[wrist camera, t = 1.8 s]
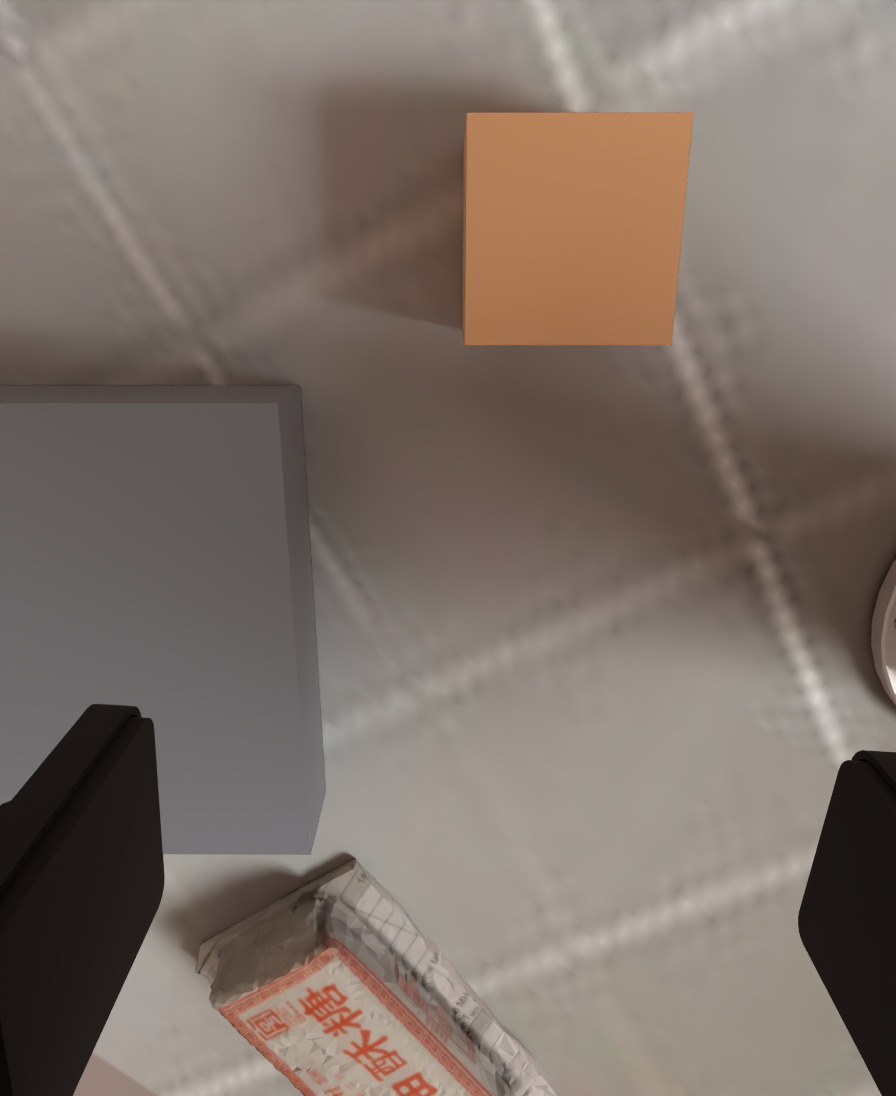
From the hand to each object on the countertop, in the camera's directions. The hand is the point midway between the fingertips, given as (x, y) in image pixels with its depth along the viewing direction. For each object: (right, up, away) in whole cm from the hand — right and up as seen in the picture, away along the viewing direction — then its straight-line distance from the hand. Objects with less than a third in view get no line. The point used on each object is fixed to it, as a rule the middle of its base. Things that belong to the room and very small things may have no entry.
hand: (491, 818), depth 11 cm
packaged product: (-4, -20, +30) cm, 36 cm away
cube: (+3, +14, +17) cm, 22 cm away
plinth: (-15, +1, +21) cm, 26 cm away
